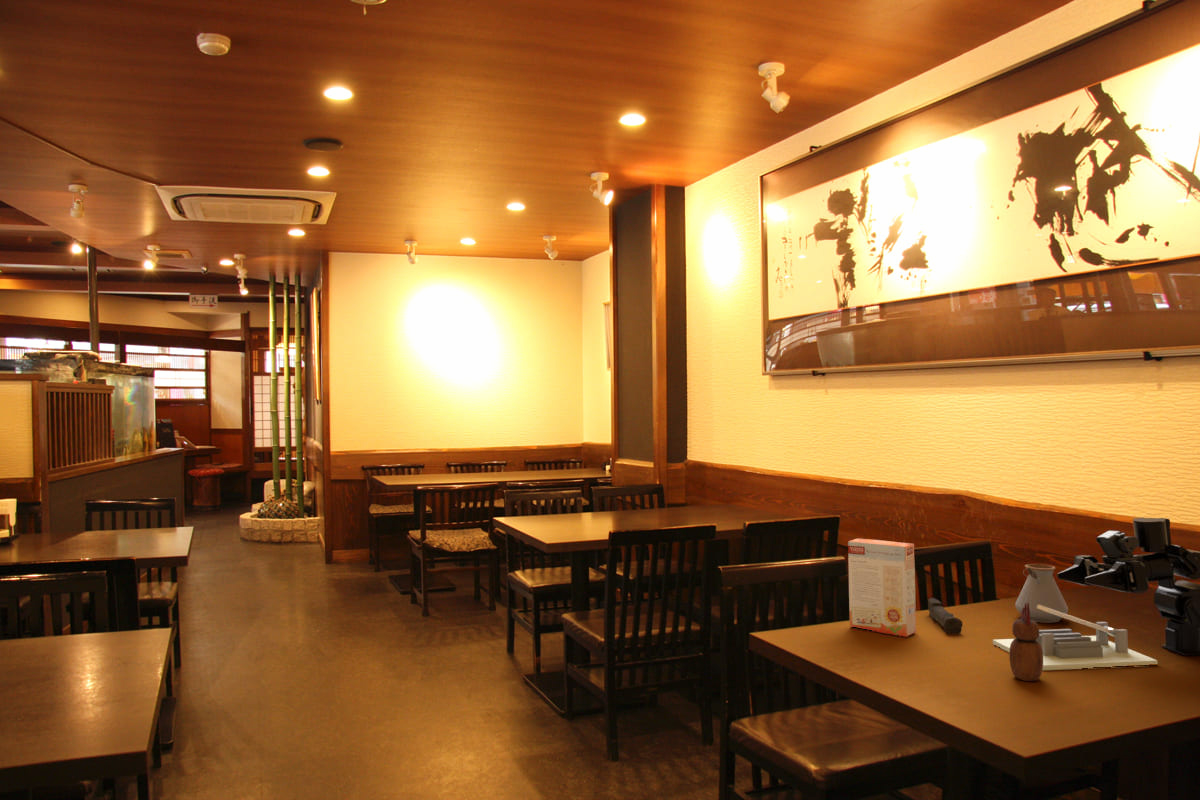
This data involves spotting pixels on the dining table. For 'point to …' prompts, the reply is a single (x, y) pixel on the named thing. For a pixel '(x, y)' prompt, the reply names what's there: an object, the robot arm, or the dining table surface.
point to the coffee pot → (1041, 594)
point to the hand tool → (944, 617)
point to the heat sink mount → (1083, 649)
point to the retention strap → (1079, 621)
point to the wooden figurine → (1026, 648)
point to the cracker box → (882, 586)
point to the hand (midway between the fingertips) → (1071, 578)
